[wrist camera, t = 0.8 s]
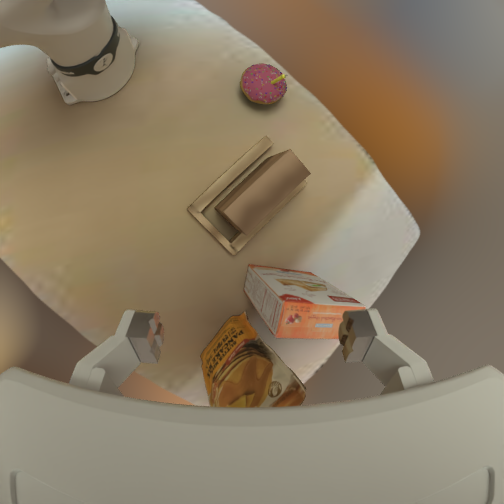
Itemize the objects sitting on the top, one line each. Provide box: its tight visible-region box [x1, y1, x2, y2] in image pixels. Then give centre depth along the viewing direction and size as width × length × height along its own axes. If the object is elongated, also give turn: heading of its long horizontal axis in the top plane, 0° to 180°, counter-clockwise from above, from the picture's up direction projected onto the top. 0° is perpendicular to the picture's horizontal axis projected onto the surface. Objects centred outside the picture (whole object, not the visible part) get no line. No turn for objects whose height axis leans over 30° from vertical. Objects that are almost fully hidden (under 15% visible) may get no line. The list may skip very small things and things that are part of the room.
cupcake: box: [240, 64, 288, 104], centre depth 43 cm, size 9×8×12 cm
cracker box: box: [244, 264, 366, 339], centre depth 47 cm, size 14×6×21 cm, turn 79°
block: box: [215, 149, 311, 236], centre depth 47 cm, size 5×14×12 cm, turn 133°
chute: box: [187, 136, 307, 256], centre depth 51 cm, size 12×20×2 cm, turn 133°
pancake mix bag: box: [200, 310, 306, 408], centre depth 44 cm, size 7×19×28 cm, turn 142°
